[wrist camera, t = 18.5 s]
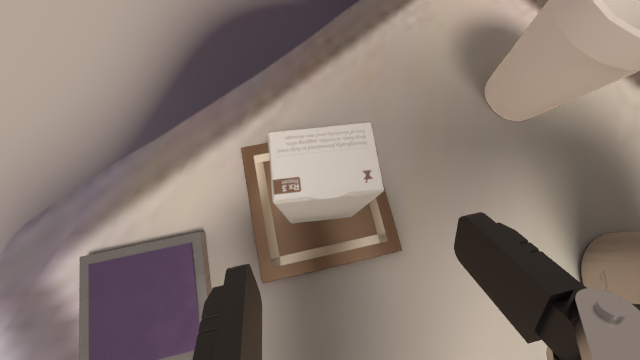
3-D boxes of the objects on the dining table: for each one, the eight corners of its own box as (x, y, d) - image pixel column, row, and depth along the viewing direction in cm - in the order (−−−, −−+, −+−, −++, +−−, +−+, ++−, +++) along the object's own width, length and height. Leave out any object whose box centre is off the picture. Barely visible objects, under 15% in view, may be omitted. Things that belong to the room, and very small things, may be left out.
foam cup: (466, 121, 30) (581, 23, 17) (474, 53, 32) (580, -75, 20) (551, 143, 30) (731, 60, 17) (553, 73, 32) (711, -44, 20)
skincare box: (345, 175, 27) (375, 113, 15) (352, 220, 26) (391, 191, 14) (283, 181, 26) (265, 123, 15) (287, 228, 25) (271, 204, 14)
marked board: (364, 127, 29) (366, 124, 28) (400, 250, 26) (402, 250, 25) (242, 149, 28) (240, 147, 27) (262, 282, 24) (261, 283, 24)
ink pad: (204, 232, 25) (199, 231, 24) (218, 351, 23) (212, 357, 22) (90, 256, 24) (78, 257, 23) (91, 384, 22) (77, 392, 20)
